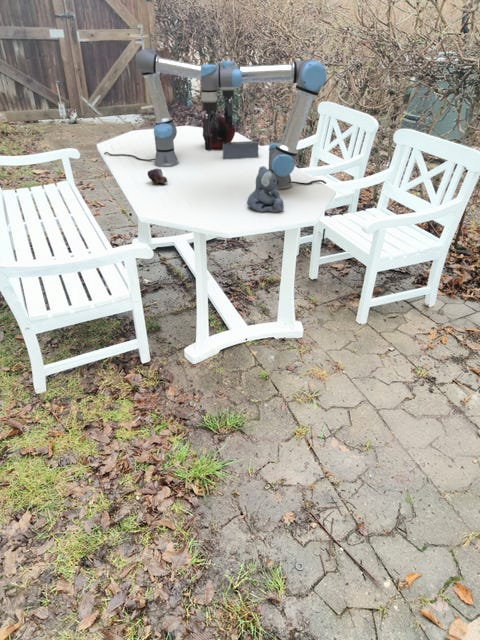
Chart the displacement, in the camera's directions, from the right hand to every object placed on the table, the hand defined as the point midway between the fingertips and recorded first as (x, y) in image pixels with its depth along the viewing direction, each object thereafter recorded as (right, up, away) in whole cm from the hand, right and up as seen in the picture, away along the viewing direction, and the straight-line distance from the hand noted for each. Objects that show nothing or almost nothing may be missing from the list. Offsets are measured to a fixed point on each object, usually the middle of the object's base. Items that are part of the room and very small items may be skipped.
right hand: (211, 146), depth 230 cm
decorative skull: (-1, +39, +100) cm, 108 cm away
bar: (+15, +22, +76) cm, 81 cm away
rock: (-34, -9, +31) cm, 47 cm away
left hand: (+7, +39, +64) cm, 75 cm away
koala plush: (+27, -32, -3) cm, 42 cm away
